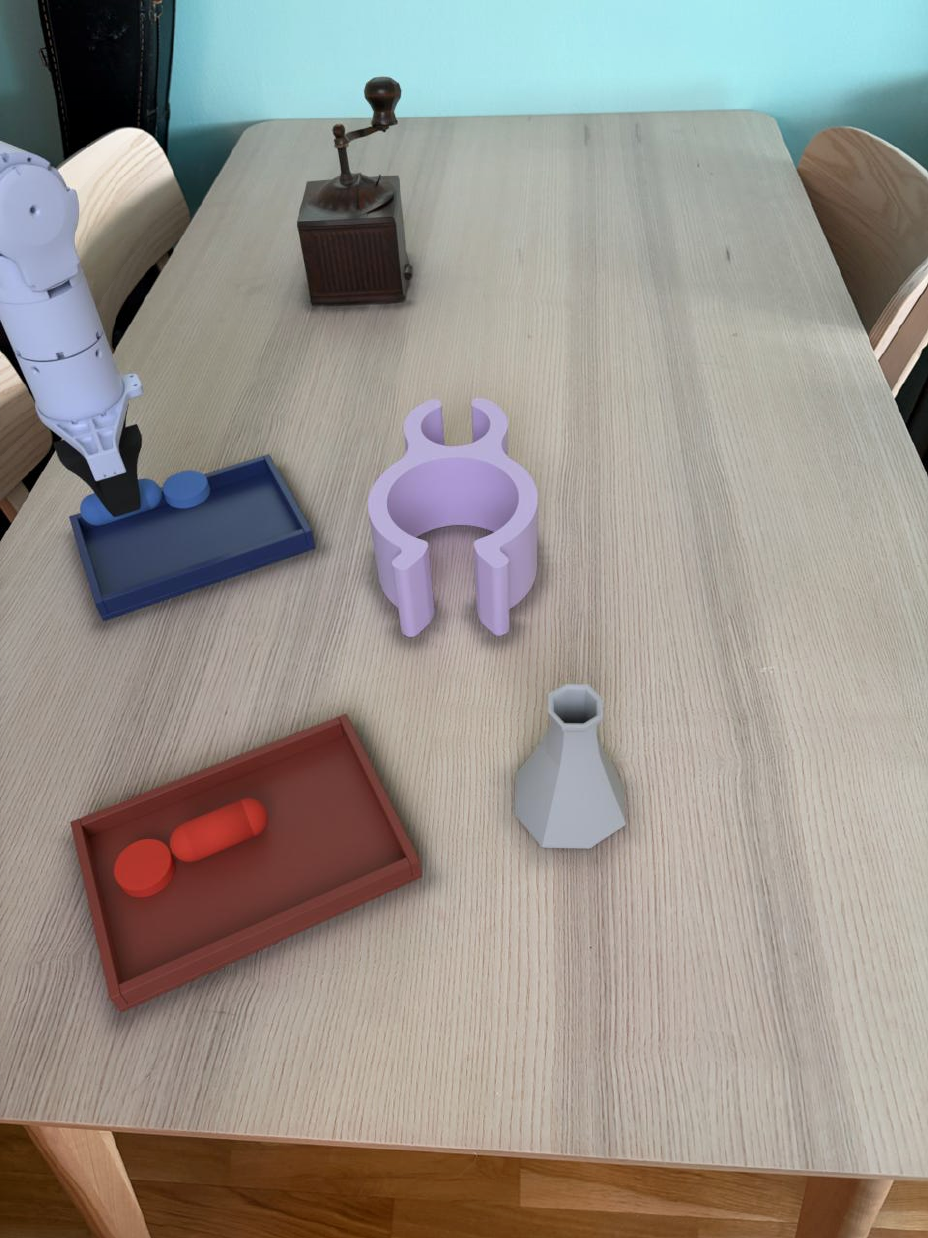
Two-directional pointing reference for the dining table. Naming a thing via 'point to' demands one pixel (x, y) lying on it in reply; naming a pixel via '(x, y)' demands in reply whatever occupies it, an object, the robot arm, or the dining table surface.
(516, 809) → the flask
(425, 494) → the clip
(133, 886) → the red disc-ended bar
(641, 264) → the dining table surface
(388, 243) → the manual coffee grinder
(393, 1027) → the dining table surface
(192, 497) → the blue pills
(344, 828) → the red tray
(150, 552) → the blue tray
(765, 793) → the dining table surface
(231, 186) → the dining table surface
